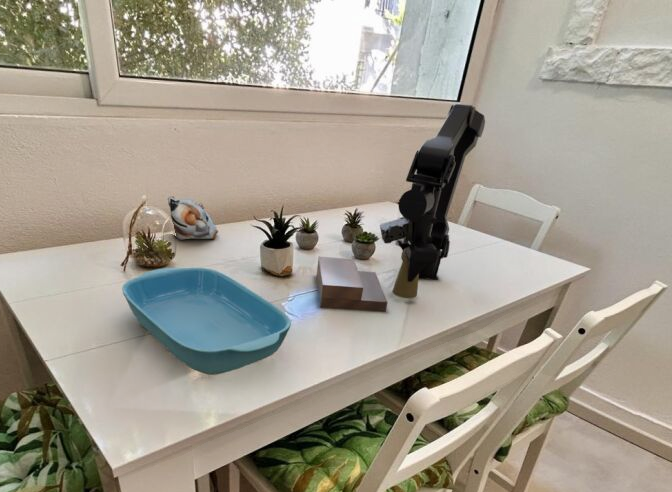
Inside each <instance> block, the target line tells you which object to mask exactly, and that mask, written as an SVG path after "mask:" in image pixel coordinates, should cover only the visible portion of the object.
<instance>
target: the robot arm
mask: <svg viewBox="0 0 672 492" xmlns="http://www.w3.org/2000/svg"><path fill="white" fill-rule="evenodd" d="M485 126H486V119H485V115H484V114H482V113H481V112H479V111H478V110H477V109H476V107H475V106H473V105H472V104H466V103H458V102H455V103H452V104H451V106H450V108H449V110H448V112H447V116H446V118H445V120H444V121H443V124H442V125H441V127H440V128H439V130H438V132H437V133H436V135H435V137H433V138H430V139H426V140H425V141H424V142H423V143H422V145H421V146H420V148H419V149H417V150H416V152H415V154H414V157H413V159H412V161H411V162H412V163H411V166H410V168H409V170H408V172H407V176H406V178H405V182H408V183H411V187H410V189H408V190H407V191H405V192H404V193H402V195H401V196H400V198H399V200H398V211H399V213H400V215H401V216H402V217H403V218H399V219H394V220H390V221H387V222H383V223H380V224H379V229H380V235H381V239H382V241H383V243H384V244H391V243H393V242H395V241H396V242H397V244H398V246H399V247H400V248H401V250H402V251H403V250H404V249H405V248H407V247H408V249H407V253H406V252H404V254H405V256H406V257H407V259H408V260H409V261H408V282H412V281H413V280H414V279H415V277H416V276H417V275H418V274H419V279H421V280H431V281H432V280H434V281H438V280H439V276H438V273H439V269H440V264H441V261H442V259H447V258H448V255H449V251H450V246H451V245H450V244H451V241H450V234H449V232H450V226H449V222H448V214H449V211H450V208H451V205H452V202H453V198H454V196H455V192H456V188H457V185H458V182H459V179H460V176H461V172H462V169H463V166H464V163H465V159H466V157H467V156H468V155H469V154H470V152H471V151H472V150H474V148H476V146H477V144H478V140H479V138H482V136H483V133H484V129H485ZM419 279H418V280H419Z"/></svg>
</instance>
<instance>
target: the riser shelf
mask: <svg viewBox="0 0 672 492" xmlns="http://www.w3.org/2000/svg"><path fill="white" fill-rule="evenodd" d="M315 277H316V286H317V294H318V301H319V307H320V308H321V309H335V310H348V311H349V310H351V311H364V312H365V311H366V312H381V313H386V312H387V311H386V310H387V306H388V299H387V298H386V295H385V293H384V290H383V287H382V285H381V283H380V281H379V278H378V275H377V273H376V272H375V271H364V270H358V268H357V264H356V262H355V259H354V258H344V257H343V258H342V257H330V256H318V257H317V267H316V276H315Z"/></svg>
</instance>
